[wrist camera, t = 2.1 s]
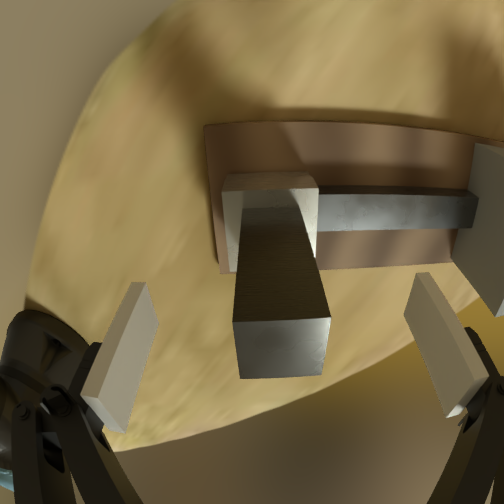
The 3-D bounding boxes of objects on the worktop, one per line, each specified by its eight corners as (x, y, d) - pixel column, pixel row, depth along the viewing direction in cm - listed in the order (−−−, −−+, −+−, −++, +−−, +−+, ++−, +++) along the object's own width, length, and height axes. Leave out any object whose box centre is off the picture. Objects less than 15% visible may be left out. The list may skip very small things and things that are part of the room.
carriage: (233, 240, 26) (216, 392, 14) (227, 171, 23) (194, 297, 11) (306, 238, 26) (342, 386, 14) (307, 168, 23) (367, 289, 10)
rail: (232, 223, 25) (230, 234, 24) (229, 188, 24) (227, 198, 22) (461, 218, 25) (471, 228, 23) (467, 189, 23) (479, 197, 21)
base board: (221, 268, 29) (220, 274, 28) (205, 125, 22) (203, 126, 21) (496, 254, 28) (499, 258, 27) (522, 146, 21) (527, 148, 20)
